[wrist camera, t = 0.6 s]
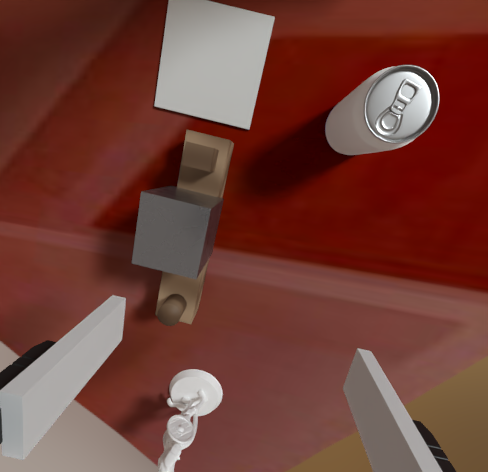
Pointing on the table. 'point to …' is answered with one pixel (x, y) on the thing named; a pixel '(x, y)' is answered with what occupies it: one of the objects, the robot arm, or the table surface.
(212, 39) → the mat
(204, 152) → the plane body
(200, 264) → the slate gray cube
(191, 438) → the figurine
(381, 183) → the table surface
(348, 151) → the can
